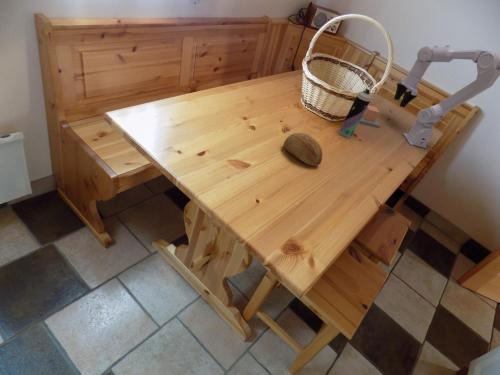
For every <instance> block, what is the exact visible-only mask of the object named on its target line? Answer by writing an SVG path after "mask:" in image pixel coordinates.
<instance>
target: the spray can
mask: <svg viewBox="0 0 500 375" xmlns="http://www.w3.org/2000/svg"><path fill="white" fill-rule="evenodd" d="M370 91H371V90H370V89H369V88H367V87H366V88H365V89H364V90H363V91H358V93H357V95H356V96H355V98H354V100H353V103H352V104H351V106H350V109H349V111H348V112H347V115H346V116H345V119H344V120H343V123H342V124H341V127H340V129H339V135H341V136H342V137H344V138H348V139H349V138H352V136H353V135H354V132H355V131H356V128H357V127H358V125H359V124H360V123H359V122H360V120H361V118H362V116H363V114H364V112H365V110H366V108H367V106H368V105H369V106H370V103H371V102H372V96H371V92H370Z"/></svg>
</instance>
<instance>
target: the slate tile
mask: <svg viewBox="0 0 500 375" xmlns="http://www.w3.org/2000/svg"><path fill="white" fill-rule="evenodd" d="M358 124H362V125H364V126H369V127H374V128H378V129H379V128H381V123H380V122H379V121H378V119H377V118H376V120H375V121H374V122H372V121H368V120H364V118H363V116H362V118H361V120H360V122H359V123H358Z"/></svg>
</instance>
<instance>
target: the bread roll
mask: <svg viewBox="0 0 500 375" xmlns="http://www.w3.org/2000/svg"><path fill="white" fill-rule="evenodd" d="M283 148H284V149H285V150H286V151H287V152H288V153H289V154H291V155H292V156H294V157H295V158H297V159H298V160H300V161H301V162H303V163H305V164H306V165H309V166H311V167H312V166H313V167H318V166H319V165H321V163H322V160H323V150H322V147H321V145H320V144H319V143H318V141H317V140H316V139H315V138H314V137H312V136H311V135H309V134H307V133H303V132H302V133H301V132H296V133H292V134H290V135H288V136H287V137H286V139H285V140H284V142H283Z"/></svg>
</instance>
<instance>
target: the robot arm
mask: <svg viewBox="0 0 500 375" xmlns="http://www.w3.org/2000/svg"><path fill="white" fill-rule="evenodd" d="M416 56H417V58H416V60H415V62H414V63H413V65H412V67H411V68H410V71H409V73H408V74H407V76H406V78H405V77H404V78H403V77H402V78H401V80H400V82H397V83H396V91H395V94H394V99H393V100H395V101H400V99H402V100H401V102H400V104H399V107H400V108H405V107H406V106H407V105H408V104H409V103H410V102H411V101H413V100H414V99H416V98H417V97H418V93H419V91H418V88H417V86H418V85H419V83H420V82H421V80H422V78H423V76H424V74H426V72H427V70H428V68H429V67H430V65H431V64H433V63H450V62H452V61H453V60H469V61H470V60H471V61H472V62H473V63H474V64H476V71H477V75H476V79H475V80H474V81H472V82H469V84H467V85H465V86H464V87H462V88H461V89H459V90H458V91H456V92H454V93H453V94H451V95H450V96H448V97H447V98H445V99H444V100H442V101H440V102H439V103H436V104H434V105H431V106H429V107H428V108H422V109H421V110H420V111H418V112H417V115H416V121H415V122H414V124H413V126H412V127H411V128H410V130H409V132H408V133H405V132H404V133H402V134H403V136H404V137H405V139H406V140H407V142H408V143H409V145H411V146H414V147H415V146H416V147H420V148H424V149H427V144H428V143H429V142H430V140H431V139H432V138H433V135H434V132H433V127H434V126H435V124H438V123H439V122H441V120H443V118H444V117H446V116H447V115H448V113H449V112H451V111H453V110H454V109H455V108H457V107H459V106H461V105H463V104H464V103H466V102H467V101H469V100H471V99H473V98H474V97H476V96H477V95H479V94H482V93H483V92H484V91H487V89H489V88H491V87H492V86H494V85H495V83H496V81H497V79H498V78H499V77H500V52H496V51H490V50H489V51H488V50H485V49H484V50H483V49H460V50H458V49H457V50H456V49H455V48H454V47H453V46H451V45H449V44H448V45H445V46H438V45H434V46H433V47H431V46H423V47H421V48H420V49H418V52H417V55H416ZM407 90H408V91H407ZM402 96H403V97H402Z"/></svg>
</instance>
